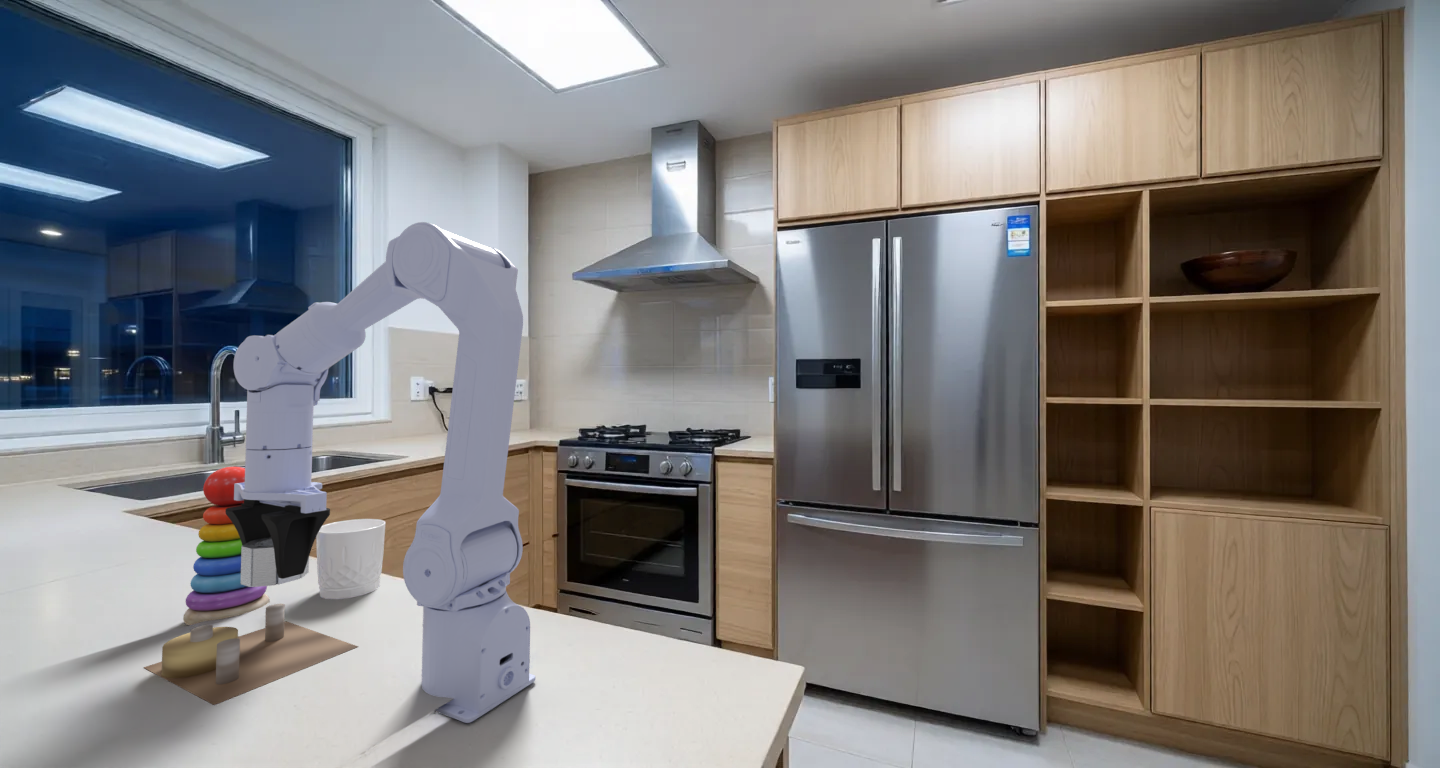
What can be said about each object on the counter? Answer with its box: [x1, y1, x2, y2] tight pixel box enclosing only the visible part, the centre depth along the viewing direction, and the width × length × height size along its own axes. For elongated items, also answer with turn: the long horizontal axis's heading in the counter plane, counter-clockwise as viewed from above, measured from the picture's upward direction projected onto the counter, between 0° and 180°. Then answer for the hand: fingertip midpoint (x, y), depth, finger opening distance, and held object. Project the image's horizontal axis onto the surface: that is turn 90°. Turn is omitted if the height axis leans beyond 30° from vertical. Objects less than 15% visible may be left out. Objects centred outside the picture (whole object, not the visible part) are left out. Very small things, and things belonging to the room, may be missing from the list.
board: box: [143, 603, 359, 706], centre depth 55 cm, size 14×12×5 cm
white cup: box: [315, 518, 386, 600], centre depth 73 cm, size 8×8×10 cm
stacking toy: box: [182, 466, 271, 626], centre depth 67 cm, size 8×8×19 cm
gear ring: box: [241, 537, 310, 587], centre depth 59 cm, size 5×5×4 cm
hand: (276, 571), depth 59 cm, fingers closed on gear ring, 5 cm apart
